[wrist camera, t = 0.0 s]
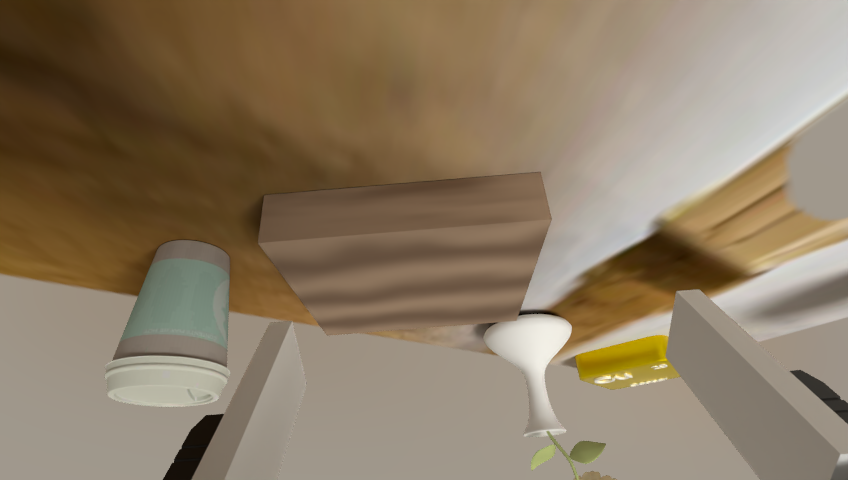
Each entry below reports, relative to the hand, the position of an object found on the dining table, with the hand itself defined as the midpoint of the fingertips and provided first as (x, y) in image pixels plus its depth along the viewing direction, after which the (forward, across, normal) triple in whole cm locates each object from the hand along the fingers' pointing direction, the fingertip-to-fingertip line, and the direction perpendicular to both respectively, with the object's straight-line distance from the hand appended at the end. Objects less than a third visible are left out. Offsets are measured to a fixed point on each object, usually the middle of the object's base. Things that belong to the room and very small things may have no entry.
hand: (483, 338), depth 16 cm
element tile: (+51, +31, -42) cm, 73 cm away
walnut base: (+25, -3, -8) cm, 26 cm away
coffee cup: (+24, -22, -6) cm, 33 cm away
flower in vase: (+38, +11, -26) cm, 47 cm away
